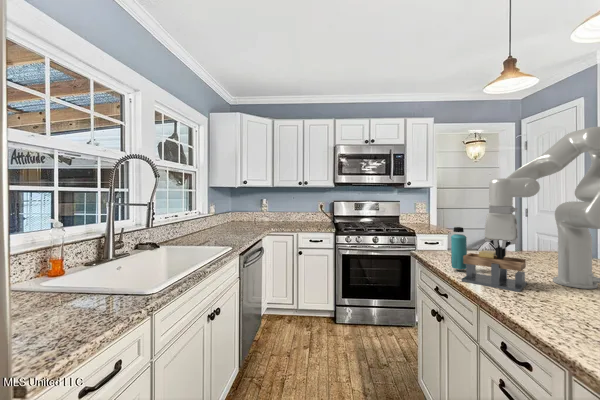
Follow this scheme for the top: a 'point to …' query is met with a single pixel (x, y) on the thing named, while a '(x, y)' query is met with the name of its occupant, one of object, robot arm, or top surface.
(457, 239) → the beverage bottle
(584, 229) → the robot arm
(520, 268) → the beam
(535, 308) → the top surface
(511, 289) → the beam stand
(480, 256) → the brass block
